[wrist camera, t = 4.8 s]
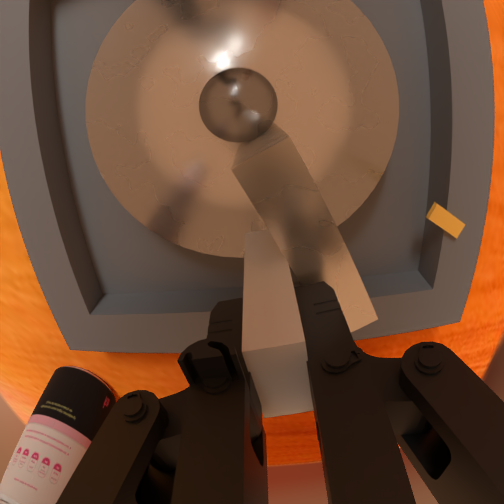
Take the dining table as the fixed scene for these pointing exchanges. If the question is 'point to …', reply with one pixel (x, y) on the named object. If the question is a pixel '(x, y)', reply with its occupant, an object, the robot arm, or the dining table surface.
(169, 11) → the dial
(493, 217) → the dining table surface
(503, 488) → the robot arm
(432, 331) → the dining table surface
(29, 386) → the dining table surface
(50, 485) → the beverage can
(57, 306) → the panel
